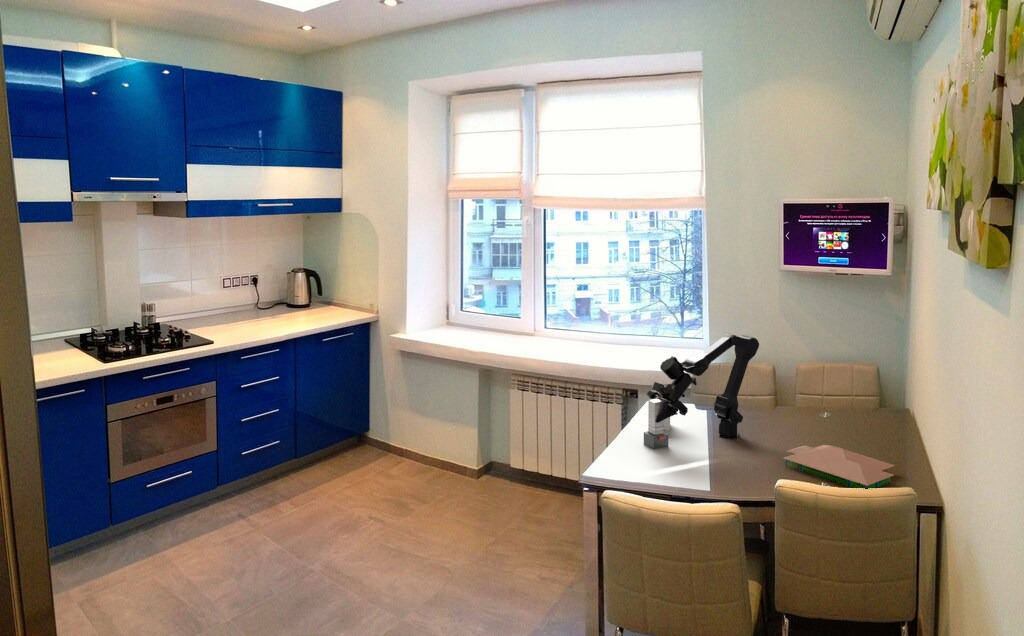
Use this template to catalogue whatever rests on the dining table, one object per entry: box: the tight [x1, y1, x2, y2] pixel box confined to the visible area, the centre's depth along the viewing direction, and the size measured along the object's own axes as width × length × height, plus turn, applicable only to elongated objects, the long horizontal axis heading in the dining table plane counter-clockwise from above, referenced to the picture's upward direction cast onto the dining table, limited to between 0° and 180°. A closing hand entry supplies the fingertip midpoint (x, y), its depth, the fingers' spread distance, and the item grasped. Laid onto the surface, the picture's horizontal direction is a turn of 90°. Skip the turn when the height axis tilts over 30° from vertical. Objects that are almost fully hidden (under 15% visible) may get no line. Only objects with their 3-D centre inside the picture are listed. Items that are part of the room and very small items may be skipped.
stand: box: [643, 430, 670, 450], centre depth 269 cm, size 10×10×6 cm
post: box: [647, 399, 665, 436], centre depth 267 cm, size 4×4×13 cm
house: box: [782, 444, 896, 489], centre depth 243 cm, size 23×33×8 cm
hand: (652, 420), depth 267 cm, fingers closed on post, 4 cm apart
